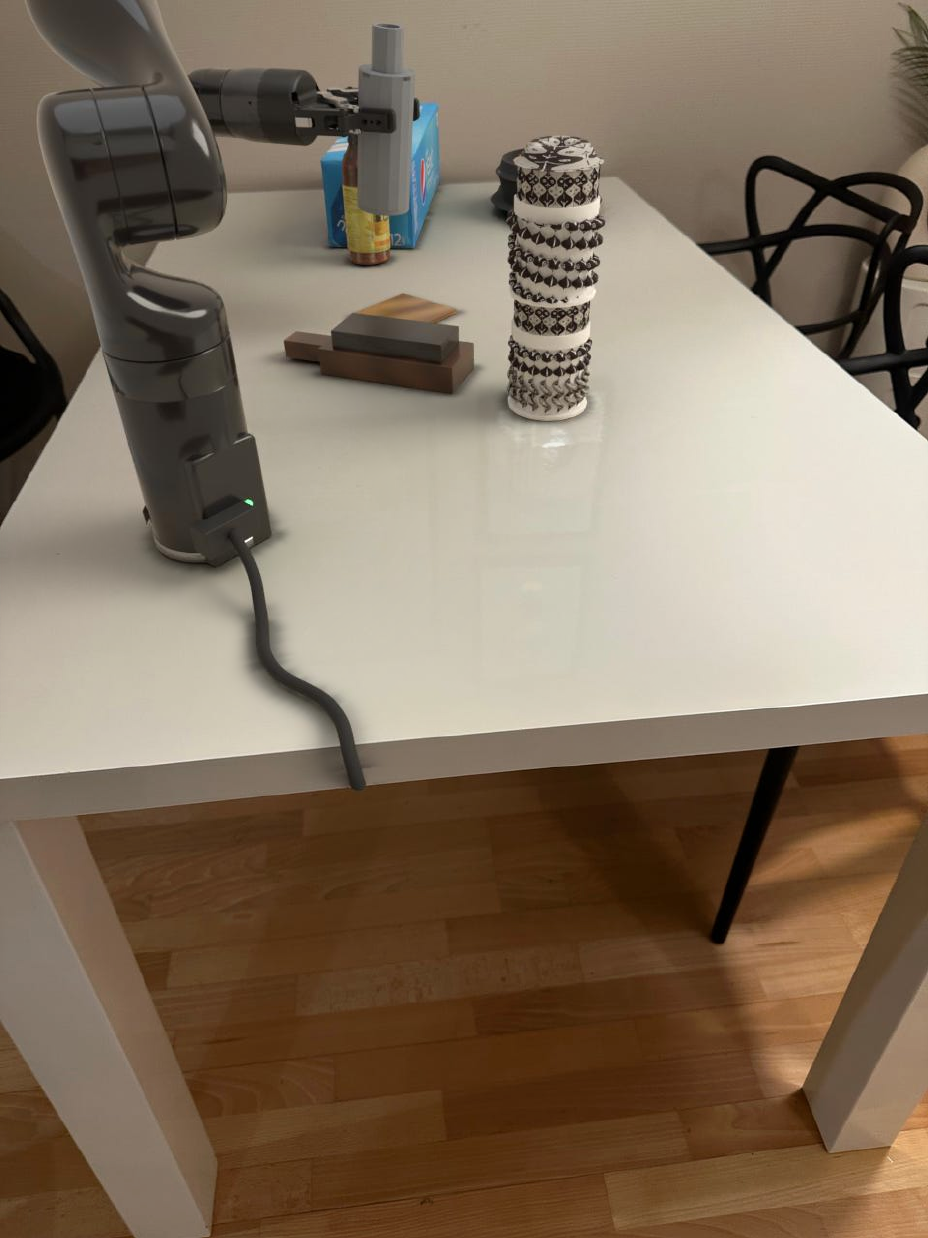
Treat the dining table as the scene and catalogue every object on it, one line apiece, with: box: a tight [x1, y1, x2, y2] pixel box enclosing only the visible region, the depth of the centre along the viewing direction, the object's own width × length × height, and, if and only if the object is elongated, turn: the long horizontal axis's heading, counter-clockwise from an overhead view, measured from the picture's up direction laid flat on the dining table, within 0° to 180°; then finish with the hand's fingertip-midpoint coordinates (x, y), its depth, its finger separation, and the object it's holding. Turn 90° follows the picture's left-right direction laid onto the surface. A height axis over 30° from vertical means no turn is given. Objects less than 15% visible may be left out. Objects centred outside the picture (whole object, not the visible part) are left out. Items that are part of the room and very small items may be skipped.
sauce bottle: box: [342, 133, 391, 266], centre depth 126 cm, size 6×6×20 cm
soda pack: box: [319, 102, 441, 249], centre depth 147 cm, size 40×14×13 cm, turn 175°
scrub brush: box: [283, 312, 475, 394], centre depth 101 cm, size 22×7×5 cm, turn 70°
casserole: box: [490, 147, 603, 213], centre depth 148 cm, size 25×19×8 cm
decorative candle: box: [505, 135, 606, 422], centre depth 87 cm, size 9×9×25 cm
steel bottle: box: [357, 22, 416, 216], centre depth 99 cm, size 6×6×18 cm
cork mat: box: [355, 292, 457, 323], centre depth 115 cm, size 10×10×1 cm
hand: (406, 115), depth 98 cm, fingers closed on steel bottle, 6 cm apart
